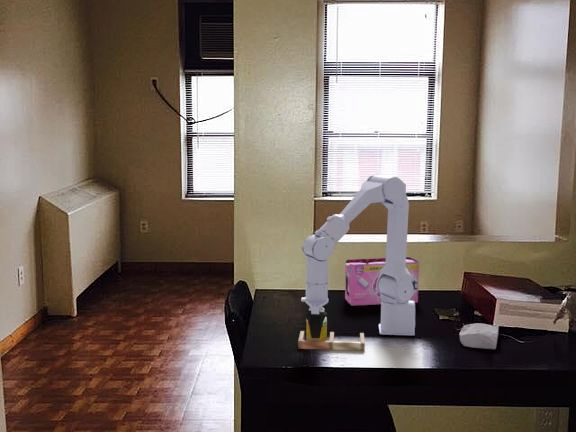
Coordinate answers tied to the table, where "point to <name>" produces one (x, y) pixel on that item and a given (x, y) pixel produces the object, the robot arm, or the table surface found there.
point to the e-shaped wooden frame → (331, 343)
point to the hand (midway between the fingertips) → (316, 332)
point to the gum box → (372, 280)
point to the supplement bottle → (323, 332)
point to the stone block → (479, 336)
